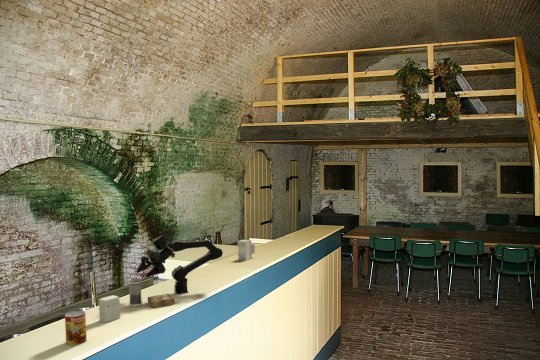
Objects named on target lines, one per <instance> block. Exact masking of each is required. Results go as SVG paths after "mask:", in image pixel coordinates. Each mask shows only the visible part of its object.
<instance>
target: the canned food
mask: <svg viewBox="0 0 540 360" xmlns="http://www.w3.org/2000/svg"><path fill="white" fill-rule="evenodd" d="M86 314H87V313H86V311H84V310H73V311H68V312H67V313H65V314H64V326H65V328H64V329H65V344H66V346H70V345H72V346H73V347H74V346H78V345H82V344H85V343H86V342H87V341H88V340H87V322H86V321H87V320H86Z"/></svg>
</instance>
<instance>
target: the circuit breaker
mask: <svg viewBox="0 0 540 360" xmlns="http://www.w3.org/2000/svg"><path fill="white" fill-rule="evenodd" d="M237 249H238V250H237V251H238V253H237V258H238V259H237V260H238V261H246V262H247V261H250V260H252V258H253V257H252V254H255V251H256V250H255V243H252V240H251V239H240V240H237Z"/></svg>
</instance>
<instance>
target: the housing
mask: <svg viewBox="0 0 540 360" xmlns="http://www.w3.org/2000/svg"><path fill="white" fill-rule="evenodd" d="M128 284H129V285H128V289H129V290H128V291H129V293H128V294H129V303H128V306H129V307H132V308H133V307H139V306H142V305H144V304H143V303H144V302H143V301H142V280H140V279H133V280H129V281H128Z"/></svg>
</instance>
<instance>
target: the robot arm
mask: <svg viewBox="0 0 540 360" xmlns="http://www.w3.org/2000/svg"><path fill="white" fill-rule="evenodd" d="M151 243H152V244H153V246H154V247H155V249H156V250H155V251H154V250H152V249H147V251H146V253H145V255H146V256H145V255H142V256H141V257H140V264H139V267H138V268H137V269H136V271H135V272H136V273H137V274H138V273H141V272H143V271H145V270H147V269H148V268H150V267H151V266H152V268H151V269H150V271H148V272H147V273H146V274H145V278H149V277H152V276H156V275H161V274H165V272H166V270H167V269H166V267H165V265H164V264H165V263H166V261H167V260H168V259H169V258H176V255H175V254H176V252H181V251H185V250H187V249H197V248H206V249H207V250H208V252H206V253H205V254H204V255H203V256H201V257H198V258H197V259H195V260H194V261H192V262H190V263H188V264H187V265H185V266H182V265H178V266H177V267H174V268H173V270H172V271H171V277H172V278H173V279H174V280H175V281H174V283H175V284H174V286H173V287H174V294H175V293H176V294H177V295H182V294H186V293H189V291H188V280H189V279H188V278H187V275H188V274H189V273H191V272H193V271H194V270H196V269H198V268H199V267H202V266H203V265H204V264H206V263H209V261H214V260H217V259H220V258H221V257H222V256H223V250H222V248H219V247H218V246H216V245H215V244H213V243H212V242H211V241H210V240H209V239H203V240H194V241H193V240H191V241H182V240H173V241H171V242H170V241H166V239H165V238H164V236H163V235H160V236H158V237H155V238H154V239H153V240H152V241H151ZM173 251H174V252H173Z"/></svg>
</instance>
